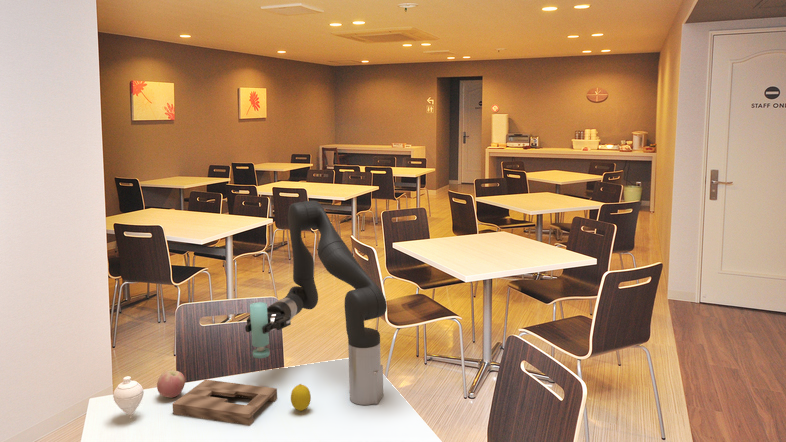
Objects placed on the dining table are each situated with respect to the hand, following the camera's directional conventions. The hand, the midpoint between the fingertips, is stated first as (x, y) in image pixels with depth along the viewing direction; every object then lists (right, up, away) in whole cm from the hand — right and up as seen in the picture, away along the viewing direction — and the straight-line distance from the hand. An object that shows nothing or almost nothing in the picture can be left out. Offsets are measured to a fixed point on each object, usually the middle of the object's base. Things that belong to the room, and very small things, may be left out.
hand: (255, 329), depth 177 cm
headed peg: (+1, -8, +4) cm, 9 cm away
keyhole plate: (-7, -21, -6) cm, 23 cm away
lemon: (+15, -21, -10) cm, 28 cm away
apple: (-25, -20, 0) cm, 32 cm away
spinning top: (-32, -22, -12) cm, 41 cm away
